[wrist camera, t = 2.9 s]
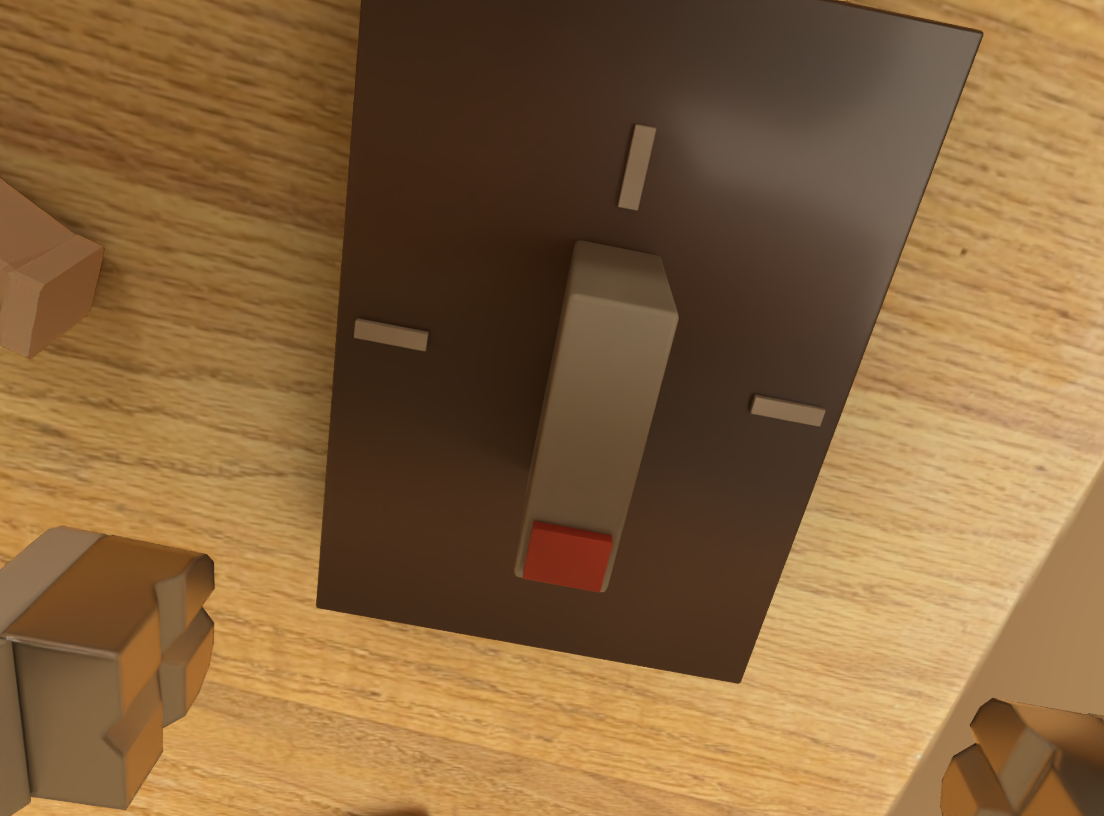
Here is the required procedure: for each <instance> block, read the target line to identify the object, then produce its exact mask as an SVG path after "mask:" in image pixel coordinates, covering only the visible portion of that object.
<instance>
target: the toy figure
mask: <svg viewBox="0 0 1104 816" xmlns="http://www.w3.org/2000/svg"><path fill="white" fill-rule="evenodd" d="M104 250H105V249H104V247H103V246H101V245H99V244H97V243H95V242H93V241H91V240H88V239H86V238H84V237H82V236H80V235H75V234H74V233H72V232H71V231H70V230H68V229H67V228H66V227H64V226H63V225H62V224H60V223H59V222H58V221H56V220H55V219H54V218H52V217H51V216H50V215H48V214H47V213H46V212H44V211H43V210H42V209H40V208H39V207H38V206H36V205H35V204H34V203H32V202H31V201H30V200H28V199H27V198H26V197H24V196H23V195H22V194H20V193H19V192H18V191H16V190H15V189H14V188H12V187H11V186H10V185H8V184H7V183H6V182H4V181H3V180H2V179H0V345H1V346H2V347H4V348H6V349H9V350H11V351H13V352H16V353H18V354H20V355H23V356H25V357H27V358H29V359H31V358H33V357H34V356H35V355H37V354H38V353H39V352H41V351H42V350H43V349H44V348H46V347H47V346H48V345H50V344H51V343H52V342H54V341H55V340H56V339H57V338H59V337H60V336H61V335H63V334H64V333H65V332H67V331H68V330H69V329H70V328H72V327H73V326H74V325H76V324H77V323H78V322H80V321H81V320H82V319H83V318H85V317H86V316H87V315H88V313H89V312H90V310H91V306H92V302H93V298H94V293H95V289H96V285H97V280H98V276H99V271H100V267H101V263H102V258H103V254H104Z"/></svg>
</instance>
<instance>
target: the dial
mask: <svg viewBox="0 0 1104 816" xmlns="http://www.w3.org/2000/svg"><path fill="white" fill-rule="evenodd" d="M678 320H679V317H678V312H677V309H676V306H675V302H674V299H673V296H672V293H671V289H670V286H669V283H668V280H667V276H666V273H665V270H664V267H663V263H662V260H661V257H659V256H658V255H653V254H648V253H643V252H638V251H633V250H628V249H623V248H618V247H613V246H608V245H603V244H597V243H592V242H587V241H582V240H579V241H576V243H575V244H574V249H573V254H572V259H571V264H570V269H569V274H568V279H567V284H566V289H565V294H564V299H563V304H562V309H561V314H560V319H559V324H558V329H557V334H556V339H555V345H554V350H553V355H552V360H551V365H550V370H549V375H548V380H547V385H546V390H545V395H544V400H543V405H542V410H541V415H540V420H539V425H538V430H537V435H536V440H535V445H534V451H533V456H532V461H531V466H530V471H529V476H528V483H527V489H526V496H525V502H524V508H523V515H522V521H521V528H520V534H519V541H518V547H517V553H516V560H515V566H514V573H515V575H516V576H517V577H521V578H523V579H528V580H533V581H539V582H544V583H550V584H555V585H561V586H566V587H571V588H577V589H582V590H588V591H593V592H605V590H606V589H607V588H608V584H609V581H610V577H611V573H612V569H613V565H614V562H615V558H616V554H617V550H618V547H619V543H620V539H621V535H622V531H623V528H624V524H625V520H626V516H627V513H628V509H629V505H630V501H631V497H632V494H633V490H634V486H635V482H636V479H637V475H638V471H639V467H640V463H641V460H642V456H643V452H644V448H645V444H646V441H647V437H648V433H649V429H650V426H651V422H652V418H653V414H654V410H655V407H656V403H657V399H658V395H659V392H660V388H661V384H662V380H663V376H664V373H665V369H666V365H667V361H668V358H669V354H670V350H671V346H672V342H673V339H674V335H675V331H676V327H677V324H678Z"/></svg>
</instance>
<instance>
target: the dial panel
mask: <svg viewBox="0 0 1104 816" xmlns="http://www.w3.org/2000/svg"><path fill="white" fill-rule="evenodd" d="M982 37H983V32H982V31H981V30H977V29H972V28H968V27H963V26H958V25H953V24H948V23H943V22H939V21H934V20H929V19H924V18H919V17H915V16H910V15H905V14H900V13H895V12H891V11H886V10H881V9H876V8H871V7H866V6H862V5H857V4H852V3H847V2H842V1H838V0H361V7H360V21H359V34H358V48H357V61H356V74H355V88H354V101H353V115H352V128H351V142H350V155H349V169H348V182H347V196H346V209H345V222H344V236H343V249H342V263H341V276H340V290H339V303H338V317H337V330H336V344H335V357H334V370H333V384H332V397H331V411H330V424H329V438H328V451H327V465H326V478H325V492H324V505H323V518H322V532H321V545H320V559H319V572H318V586H317V599H316V607H317V608H320V609H326V610H331V611H337V612H342V613H348V614H354V615H359V616H365V617H370V618H376V619H381V620H387V621H392V622H398V623H404V624H409V625H415V626H420V627H426V628H431V629H437V630H443V631H448V632H454V633H459V634H465V635H470V636H476V637H481V638H487V639H493V640H498V641H504V642H509V643H515V644H520V645H526V646H532V647H537V648H543V649H548V650H554V651H559V652H565V653H570V654H576V655H582V656H587V657H593V658H598V659H604V660H609V661H615V662H620V663H626V664H632V665H637V666H643V667H648V668H654V669H659V670H665V671H671V672H676V673H682V674H687V675H693V676H698V677H704V678H709V679H715V680H721V681H726V682H732V683H737V684H739V683H741V680H742V677H743V675H744V672H745V669H746V667H747V664H748V661H749V659H750V656H751V653H752V651H753V648H754V645H755V643H756V640H757V637H758V635H759V632H760V629H761V627H762V624H763V621H764V619H765V616H766V613H767V611H768V608H769V605H770V603H771V600H772V597H773V595H774V592H775V589H776V587H777V584H778V581H779V579H780V576H781V573H782V571H783V568H784V565H785V563H786V560H787V557H788V555H789V552H790V549H791V547H792V544H793V541H794V539H795V536H796V533H797V531H798V528H799V525H800V523H801V520H802V517H803V515H804V512H805V509H806V507H807V504H808V501H809V499H810V496H811V493H812V491H813V488H814V485H815V483H816V480H817V477H818V475H819V472H820V469H821V467H822V464H823V461H824V459H825V456H826V453H827V451H828V448H829V445H830V443H831V440H832V437H833V435H834V432H835V429H836V427H837V424H838V421H839V419H840V416H841V413H842V411H843V408H844V405H845V403H846V400H847V397H848V395H849V392H850V389H851V387H852V384H853V381H854V379H855V376H856V373H857V371H858V368H859V365H860V363H861V360H862V357H863V355H864V352H865V349H866V347H867V344H868V341H869V339H870V336H871V333H872V331H873V328H874V325H875V323H876V320H877V317H878V315H879V312H880V309H881V307H882V304H883V301H884V299H885V296H886V293H887V291H888V288H889V285H890V283H891V280H892V277H893V275H894V272H895V269H896V267H897V264H898V261H899V259H900V256H901V253H902V251H903V248H904V245H905V243H906V240H907V237H908V235H909V232H910V229H911V227H912V224H913V221H914V219H915V216H916V213H917V211H918V208H919V205H920V203H921V200H922V197H923V195H924V192H925V189H926V187H927V184H928V181H929V179H930V176H931V173H932V171H933V168H934V165H935V163H936V160H937V157H938V155H939V152H940V149H941V147H942V144H943V141H944V139H945V136H946V133H947V131H948V128H949V125H950V123H951V120H952V117H953V115H954V112H955V109H956V107H957V104H958V101H959V99H960V96H961V93H962V91H963V88H964V85H965V83H966V80H967V77H968V75H969V72H970V69H971V67H972V64H973V61H974V59H975V56H976V53H977V51H978V48H979V45H980V43H981V40H982ZM579 240H582V241H587V242H592V243H597V244H603V245H608V246H613V247H618V248H623V249H628V250H633V251H638V252H643V253H648V254H653V255H658V256H659V257H661V260H662V263H663V267H664V270H665V273H666V276H667V280H668V283H669V286H670V289H671V293H672V296H673V299H674V302H675V306H676V309H677V312H678V317H679V320H678V324H677V327H676V331H675V335H674V339H673V342H672V346H671V350H670V354H669V358H668V361H667V365H666V369H665V373H664V376H663V380H662V384H661V388H660V392H659V395H658V399H657V403H656V407H655V410H654V414H653V418H652V422H651V426H650V429H649V433H648V437H647V441H646V444H645V448H644V452H643V456H642V460H641V463H640V467H639V471H638V475H637V479H636V482H635V486H634V490H633V494H632V497H631V501H630V505H629V509H628V513H627V516H626V520H625V524H624V528H623V531H622V535H621V539H620V543H619V547H618V550H617V554H616V558H615V562H614V565H613V569H612V573H611V577H610V581H609V584H608V588H607V589H606V590H605V592H593V591H588V590H582V589H577V588H571V587H566V586H561V585H555V584H550V583H544V582H539V581H533V580H528V579H523V578H521V577H517V576H516V575H515V573H514V566H515V560H516V553H517V547H518V541H519V534H520V528H521V521H522V515H523V508H524V502H525V496H526V489H527V483H528V476H529V471H530V466H531V461H532V456H533V451H534V445H535V440H536V435H537V430H538V425H539V420H540V415H541V410H542V405H543V400H544V395H545V390H546V385H547V380H548V375H549V370H550V365H551V360H552V355H553V350H554V345H555V339H556V334H557V329H558V324H559V319H560V314H561V309H562V304H563V299H564V294H565V289H566V284H567V279H568V274H569V269H570V264H571V259H572V254H573V249H574V244H575V243H576V241H579Z"/></svg>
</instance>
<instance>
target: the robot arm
mask: <svg viewBox="0 0 1104 816" xmlns="http://www.w3.org/2000/svg"><path fill="white" fill-rule="evenodd" d="M214 589H215V583H214V561H213V560H212V559H211V558H210V557H209V556H208V555H207V554H204V553H199V552H194V551H189V550H184V549H179V548H174V547H170V546H165V545H160V544H155V543H150V542H145V541H140V540H136V539H131V538H126V537H121V536H116V535H110V536H109V535H107V534H104V533H98V532H93V531H88V530H83V529H78V528H73V527H68V526H59V527H55V528H51V529H48V530H46V531H45V532H44V533H43V534H41V535H40V536H39V537H38V538H37V539H36V540H34V541H33V542H32V543H31V544H30V545H29V546H27V547H26V548H25V549H24V550H23V551H22V552H20V553H19V554H18V555H17V556H16V557H14V558H13V559H12V560H11V561H10V562H9V563H7V564H6V565H5V566H4V567H3V568H2V569H0V816H11V815H13V814H14V813H16V812H17V811H19V810H20V809H22V808H23V807H25V806H26V805H28V804H29V803H30V802H31V797H37V798H44V799H51V800H58V801H65V802H72V803H79V804H86V805H93V806H100V807H107V808H114V809H121V810H126V809H127V808H128V806H129V805H130V803H131V801H132V800H133V798H134V797H135V795H136V794H137V792H138V790H139V789H140V787H141V786H142V784H143V783H144V781H145V779H146V778H147V776H148V775H149V773H150V771H151V770H152V768H153V767H154V765H155V764H156V762H157V760H158V759H159V757H160V756H161V754H162V752H163V728H164V727H166V726H168V725H170V724H171V723H173V722H175V721H177V720H179V719H180V718H182V717H184V716H186V714H187V712H188V711H189V709H190V707H191V706H192V704H193V702H194V701H195V699H196V697H197V696H198V694H199V692H200V689H201V686H202V684H203V681H204V679H205V676H206V673H207V671H208V668H209V665H210V661H211V655H212V650H213V644H214V622H213V621H212V619H211V618H210V617H209V615H208V614H207V613H206V611H205V610H204V608H203V607H202V606H203V604H204V603H205V601H206V600H207V599H208V597H209V596H210V594H211V593H212V591H213V590H214ZM970 727H971V731H972V733H973V736H974V740H975V744H973V745H971V746H970V747H968V748H966V749H965V750H963V751H961V752H959V753H958V754H956V755H954V756H953V758H952V759H951V762H950V764H949V766H948V768H947V770H946V772H945V775H944V777H943V779H942V787H941V802H940V808H941V813H942V816H1104V716H1102V715H1096V714H1090V713H1089V714H1081V713H1076V712H1070V711H1064V710H1059V709H1053V708H1048V707H1042V706H1036V705H1030V704H1025V703H1019V702H1013V701H1007V700H1002V699H997V698H992V699H990V700H989V701H988V702H986V703H985V704H984V705H982V706H981V707H980V708H979V709H978V711H977V713H976V715H975V717H974V719H973V720H972V722H971V724H970Z"/></svg>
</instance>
